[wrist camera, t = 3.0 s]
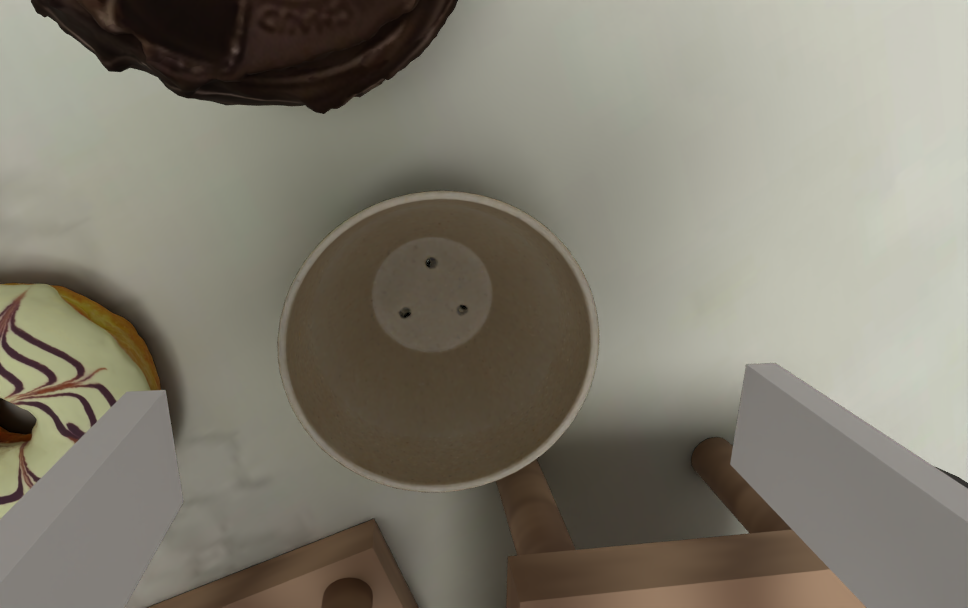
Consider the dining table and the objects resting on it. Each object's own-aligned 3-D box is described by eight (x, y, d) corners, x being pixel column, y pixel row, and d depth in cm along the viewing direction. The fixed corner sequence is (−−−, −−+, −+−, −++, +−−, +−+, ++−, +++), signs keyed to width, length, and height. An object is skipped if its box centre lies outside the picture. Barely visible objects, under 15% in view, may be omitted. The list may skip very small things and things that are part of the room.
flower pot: (520, 146, 24) (570, 155, 17) (563, 366, 27) (620, 447, 20) (275, 205, 23) (226, 239, 16) (349, 424, 26) (334, 528, 20)
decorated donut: (230, 427, 26) (205, 477, 22) (19, 546, 26) (-40, 614, 22) (63, 220, 22) (1, 240, 19) (-180, 359, 22) (-287, 404, 19)
